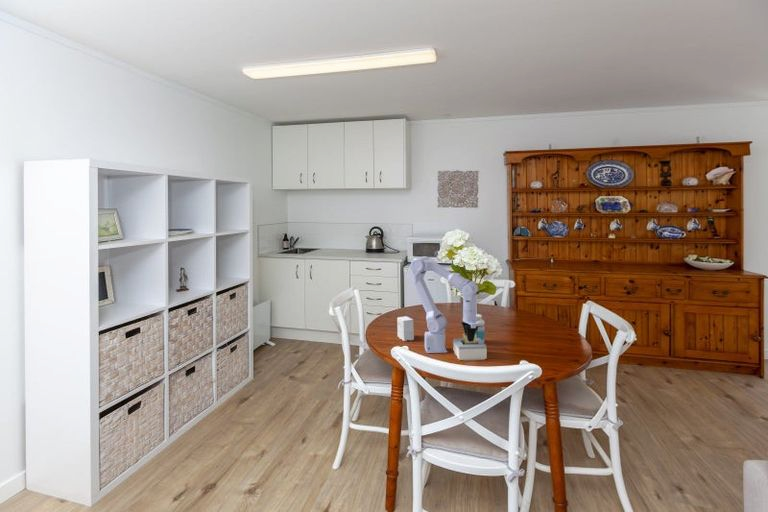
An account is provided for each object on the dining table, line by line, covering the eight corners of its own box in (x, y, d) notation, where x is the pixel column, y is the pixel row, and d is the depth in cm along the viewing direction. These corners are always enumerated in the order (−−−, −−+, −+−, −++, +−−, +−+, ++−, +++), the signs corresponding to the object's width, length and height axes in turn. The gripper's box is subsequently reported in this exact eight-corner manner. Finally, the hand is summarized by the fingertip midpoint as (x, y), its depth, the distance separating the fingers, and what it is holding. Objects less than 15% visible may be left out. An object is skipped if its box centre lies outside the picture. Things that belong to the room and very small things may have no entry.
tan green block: (465, 344, 184) (465, 335, 183) (463, 341, 187) (463, 332, 187) (476, 344, 184) (476, 335, 183) (474, 341, 188) (474, 332, 187)
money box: (458, 360, 180) (459, 347, 179) (453, 351, 192) (453, 338, 191) (486, 359, 180) (486, 346, 180) (479, 350, 192) (479, 337, 192)
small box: (413, 340, 209) (413, 319, 208) (403, 341, 207) (403, 320, 206) (407, 335, 217) (407, 315, 216) (397, 337, 215) (397, 317, 214)
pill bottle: (465, 341, 207) (466, 314, 205) (478, 339, 209) (479, 312, 208) (474, 345, 200) (474, 317, 198) (487, 343, 202) (487, 316, 201)
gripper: (483, 313, 177) (482, 344, 178) (474, 305, 191) (474, 334, 193) (466, 313, 177) (466, 345, 178) (459, 306, 191) (459, 334, 193)
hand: (469, 339), depth 185 cm, fingers closed on tan green block, 4 cm apart
